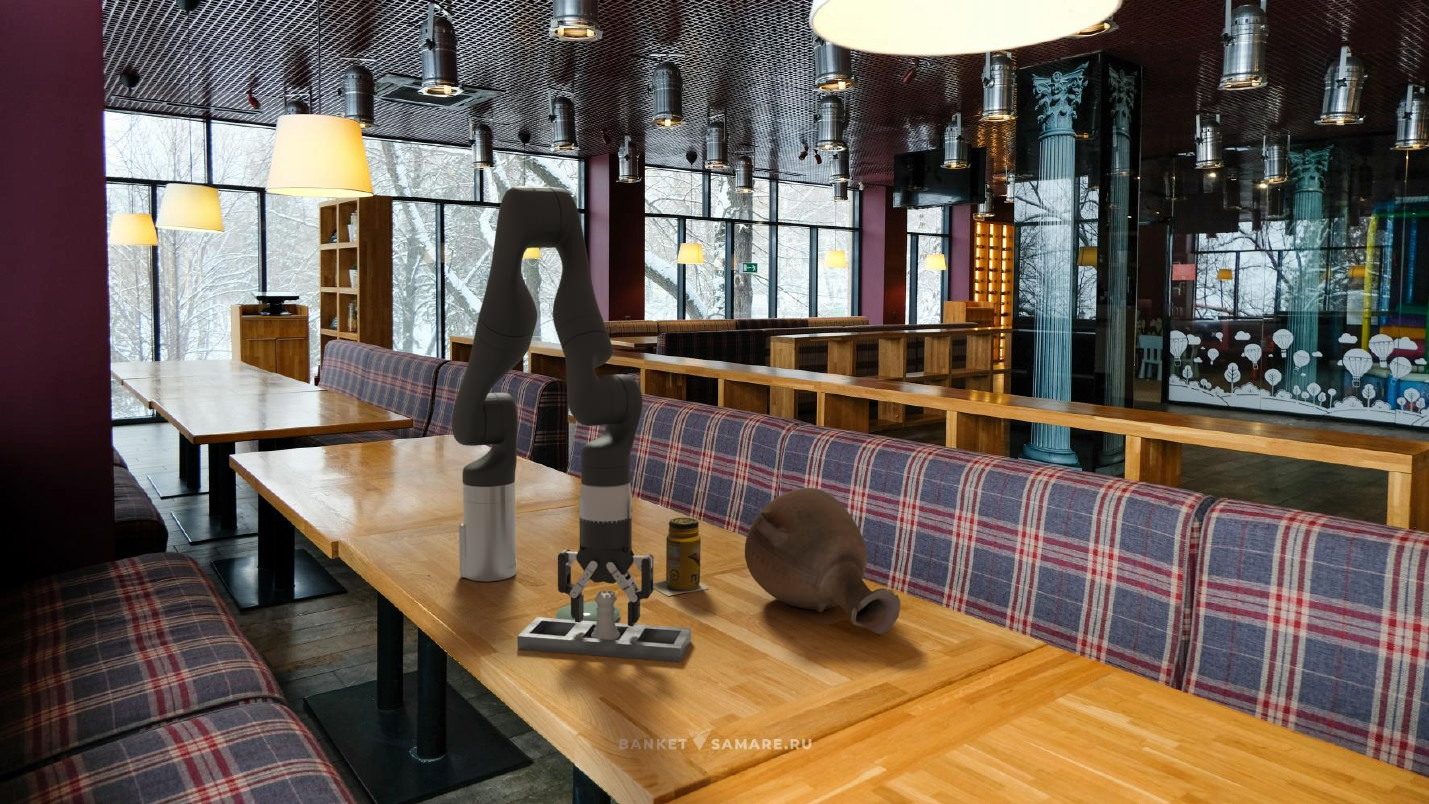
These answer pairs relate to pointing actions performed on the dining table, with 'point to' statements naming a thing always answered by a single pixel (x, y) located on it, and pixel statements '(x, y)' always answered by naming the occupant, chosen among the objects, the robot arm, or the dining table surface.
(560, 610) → the green dome
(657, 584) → the condiment
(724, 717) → the dining table surface
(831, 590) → the jug
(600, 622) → the rook chess piece
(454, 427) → the robot arm
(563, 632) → the grey compartment tray
